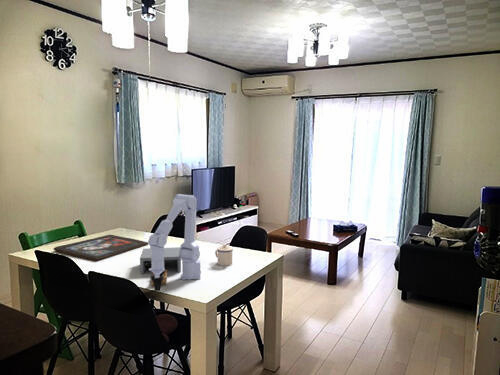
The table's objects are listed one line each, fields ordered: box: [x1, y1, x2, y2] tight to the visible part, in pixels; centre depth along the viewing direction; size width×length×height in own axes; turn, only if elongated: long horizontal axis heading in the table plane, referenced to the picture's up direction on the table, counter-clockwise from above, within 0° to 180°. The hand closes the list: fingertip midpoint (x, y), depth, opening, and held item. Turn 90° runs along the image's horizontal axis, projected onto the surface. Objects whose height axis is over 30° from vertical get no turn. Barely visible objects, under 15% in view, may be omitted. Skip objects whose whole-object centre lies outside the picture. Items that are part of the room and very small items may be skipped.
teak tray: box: [150, 269, 168, 287], centre depth 186 cm, size 7×16×6 cm, turn 11°
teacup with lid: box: [214, 243, 233, 267], centre depth 214 cm, size 12×9×12 cm
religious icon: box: [52, 234, 149, 262], centre depth 241 cm, size 40×45×3 cm
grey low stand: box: [139, 246, 182, 275], centre depth 204 cm, size 21×18×9 cm
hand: (158, 287), depth 172 cm, fingers open, 7 cm apart
